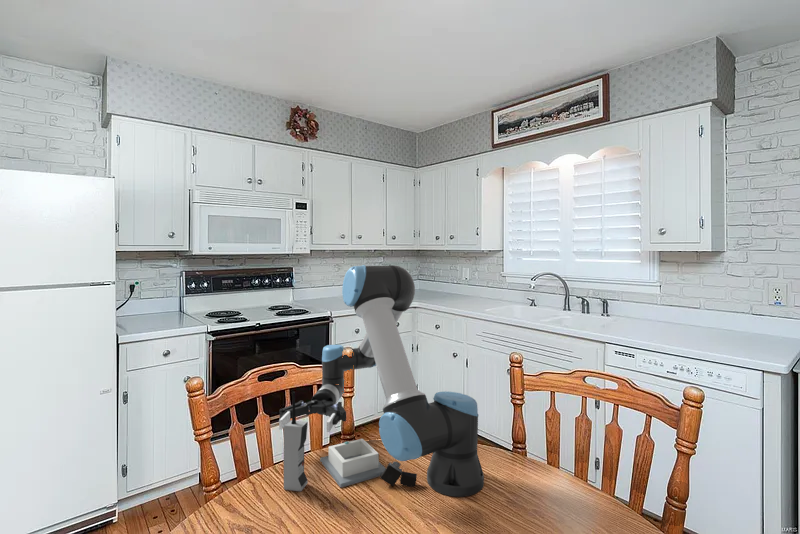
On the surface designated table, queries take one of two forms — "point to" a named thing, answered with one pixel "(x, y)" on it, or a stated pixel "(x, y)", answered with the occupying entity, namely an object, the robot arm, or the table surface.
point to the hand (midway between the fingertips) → (304, 425)
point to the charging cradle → (352, 462)
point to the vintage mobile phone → (294, 453)
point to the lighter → (398, 475)
